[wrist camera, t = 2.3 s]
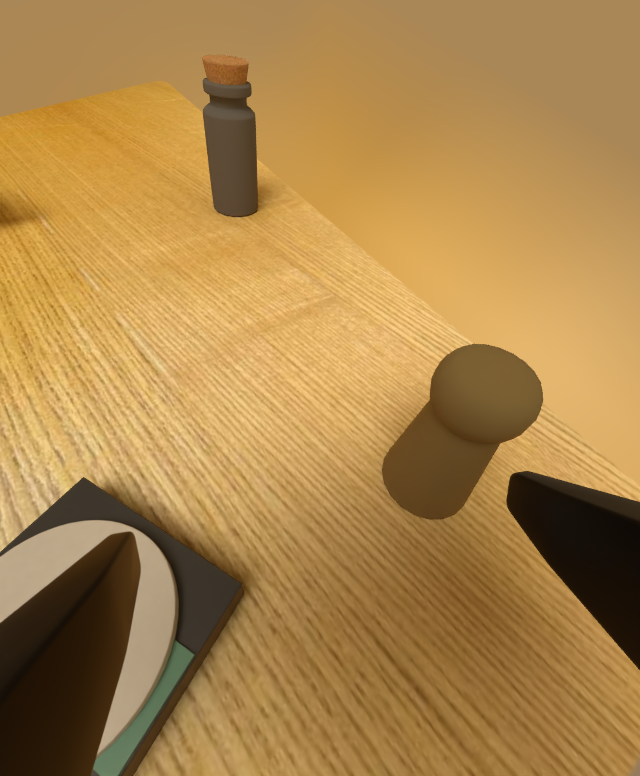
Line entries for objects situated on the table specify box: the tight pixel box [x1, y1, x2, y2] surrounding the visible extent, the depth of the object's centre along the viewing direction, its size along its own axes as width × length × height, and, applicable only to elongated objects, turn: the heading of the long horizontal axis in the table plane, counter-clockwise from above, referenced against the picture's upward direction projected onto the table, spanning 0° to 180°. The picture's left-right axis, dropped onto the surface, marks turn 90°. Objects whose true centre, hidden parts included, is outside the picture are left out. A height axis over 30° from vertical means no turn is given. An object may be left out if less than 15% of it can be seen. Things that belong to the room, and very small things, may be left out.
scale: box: [0, 477, 244, 776], centre depth 16 cm, size 11×11×3 cm
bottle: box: [202, 55, 258, 216], centre depth 43 cm, size 6×6×15 cm
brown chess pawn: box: [382, 344, 543, 519], centre depth 21 cm, size 6×6×11 cm
